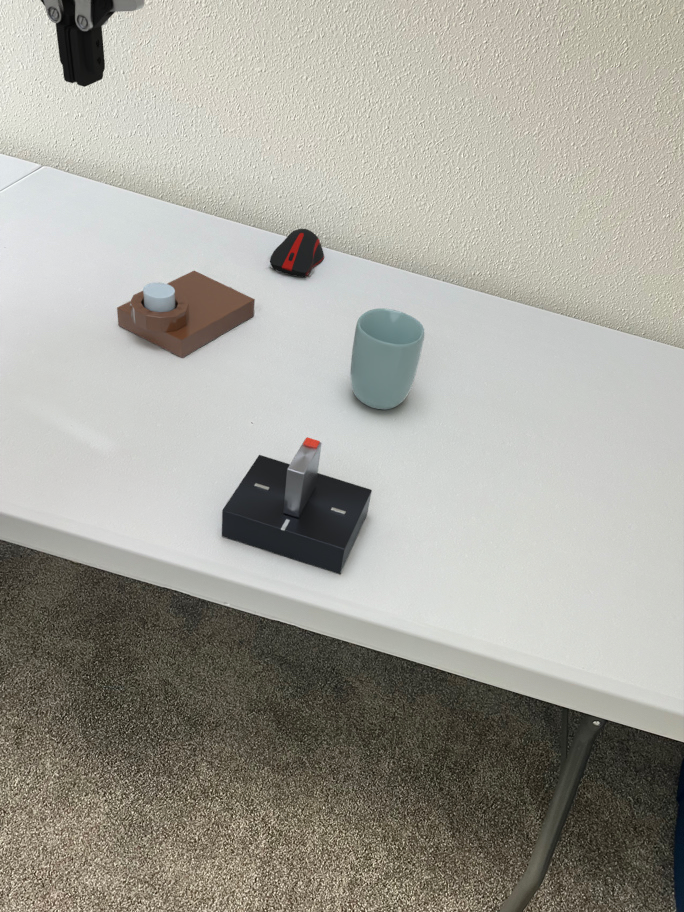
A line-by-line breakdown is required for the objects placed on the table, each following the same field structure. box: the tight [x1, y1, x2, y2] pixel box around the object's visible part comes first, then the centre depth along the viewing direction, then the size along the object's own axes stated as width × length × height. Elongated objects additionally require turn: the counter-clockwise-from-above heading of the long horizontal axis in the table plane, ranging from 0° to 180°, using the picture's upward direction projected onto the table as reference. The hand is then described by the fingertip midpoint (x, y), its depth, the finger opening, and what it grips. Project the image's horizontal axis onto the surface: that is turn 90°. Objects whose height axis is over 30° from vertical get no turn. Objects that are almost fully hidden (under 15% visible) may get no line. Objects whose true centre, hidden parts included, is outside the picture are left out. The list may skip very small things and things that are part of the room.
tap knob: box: [283, 436, 323, 518], centre depth 73 cm, size 5×2×6 cm, turn 166°
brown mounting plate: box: [116, 270, 256, 359], centre depth 98 cm, size 15×10×4 cm, turn 150°
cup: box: [349, 307, 426, 410], centre depth 92 cm, size 8×8×10 cm
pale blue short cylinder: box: [142, 281, 175, 312], centre depth 93 cm, size 4×4×2 cm
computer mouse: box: [269, 228, 325, 278], centre depth 115 cm, size 6×11×4 cm, turn 167°
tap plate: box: [221, 454, 373, 575], centre depth 76 cm, size 12×9×4 cm
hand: (84, 79), depth 64 cm, fingers closed
